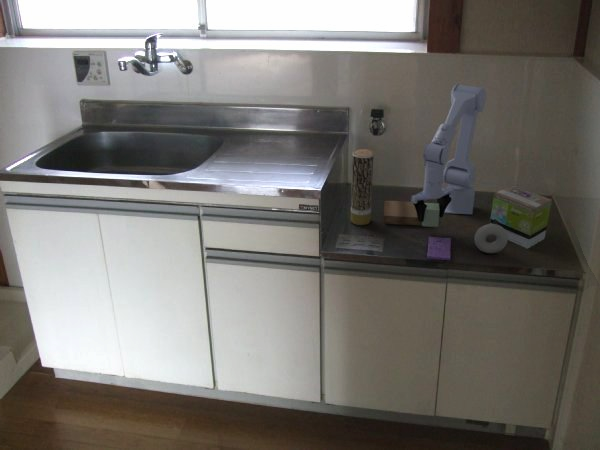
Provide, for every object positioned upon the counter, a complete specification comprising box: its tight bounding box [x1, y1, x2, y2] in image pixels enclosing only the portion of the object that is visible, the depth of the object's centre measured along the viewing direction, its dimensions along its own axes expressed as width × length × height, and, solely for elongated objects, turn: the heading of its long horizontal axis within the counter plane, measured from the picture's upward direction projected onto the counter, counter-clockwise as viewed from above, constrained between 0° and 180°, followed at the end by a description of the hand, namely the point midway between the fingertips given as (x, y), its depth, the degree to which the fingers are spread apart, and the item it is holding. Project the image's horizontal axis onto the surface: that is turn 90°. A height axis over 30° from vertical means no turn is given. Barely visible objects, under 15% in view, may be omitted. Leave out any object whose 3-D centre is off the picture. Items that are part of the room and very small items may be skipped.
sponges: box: [426, 236, 452, 261], centre depth 201 cm, size 7×13×2 cm, turn 168°
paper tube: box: [350, 148, 374, 226], centre depth 213 cm, size 7×7×25 cm
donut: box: [474, 223, 509, 254], centre depth 197 cm, size 10×3×10 cm, turn 82°
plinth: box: [382, 200, 426, 227], centre depth 221 cm, size 14×12×3 cm
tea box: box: [489, 184, 553, 250], centre depth 205 cm, size 15×10×15 cm, turn 40°
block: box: [422, 202, 440, 228], centre depth 208 cm, size 5×5×6 cm
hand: (430, 218), depth 209 cm, fingers closed on block, 7 cm apart
